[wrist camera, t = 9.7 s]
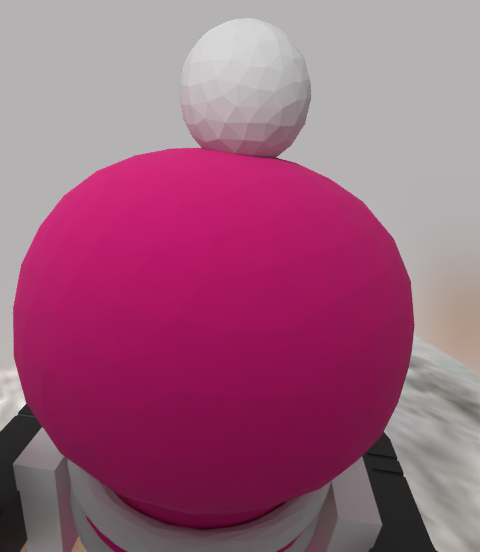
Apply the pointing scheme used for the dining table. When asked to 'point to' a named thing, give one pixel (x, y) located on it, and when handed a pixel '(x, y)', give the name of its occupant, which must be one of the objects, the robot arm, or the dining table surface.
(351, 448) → the pepper mill
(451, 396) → the dining table surface
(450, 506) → the dining table surface
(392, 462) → the robot arm
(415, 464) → the dining table surface
